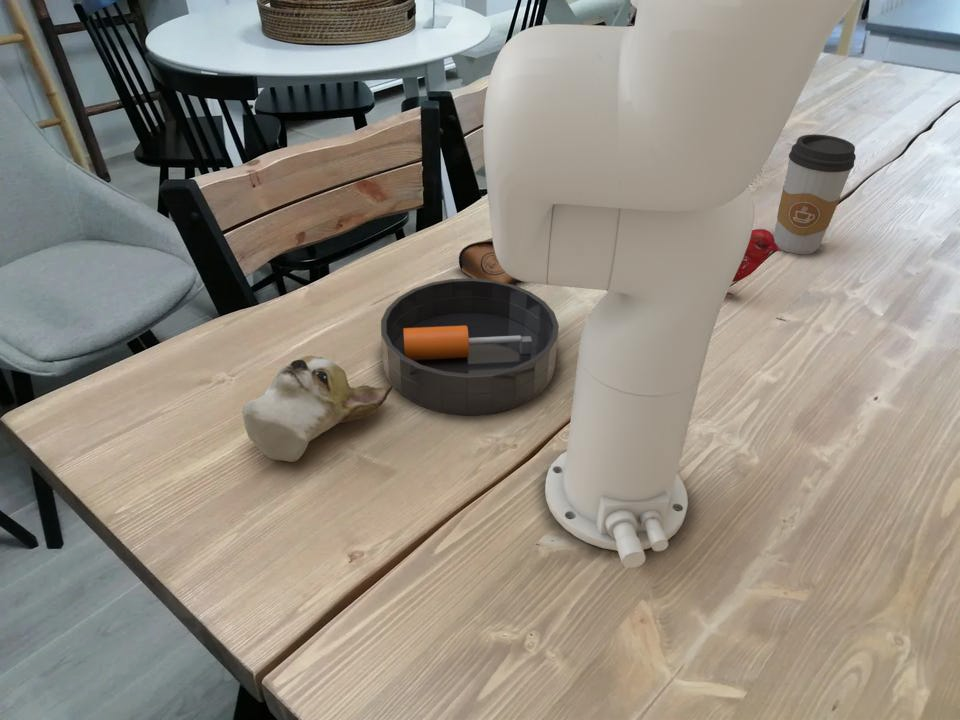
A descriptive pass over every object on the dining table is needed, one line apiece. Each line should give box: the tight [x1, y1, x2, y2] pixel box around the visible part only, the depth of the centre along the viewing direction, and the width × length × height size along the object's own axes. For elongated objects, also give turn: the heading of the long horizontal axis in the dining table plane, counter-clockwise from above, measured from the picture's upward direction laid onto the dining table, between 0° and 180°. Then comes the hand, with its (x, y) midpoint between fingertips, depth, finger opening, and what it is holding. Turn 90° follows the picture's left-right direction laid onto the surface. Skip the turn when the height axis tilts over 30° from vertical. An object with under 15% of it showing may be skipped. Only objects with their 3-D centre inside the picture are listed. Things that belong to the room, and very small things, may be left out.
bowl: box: [380, 277, 560, 416], centre depth 82 cm, size 19×19×5 cm
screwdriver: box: [403, 325, 532, 361], centre depth 82 cm, size 14×4×4 cm, turn 96°
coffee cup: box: [773, 133, 857, 255], centre depth 103 cm, size 8×8×15 cm
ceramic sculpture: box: [241, 355, 393, 463], centre depth 71 cm, size 11×9×15 cm
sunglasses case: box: [458, 237, 520, 285], centre depth 101 cm, size 18×7×7 cm
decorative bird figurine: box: [726, 228, 782, 296], centre depth 94 cm, size 3×18×10 cm, turn 65°
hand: (651, 78), depth 75 cm, fingers open, 9 cm apart
